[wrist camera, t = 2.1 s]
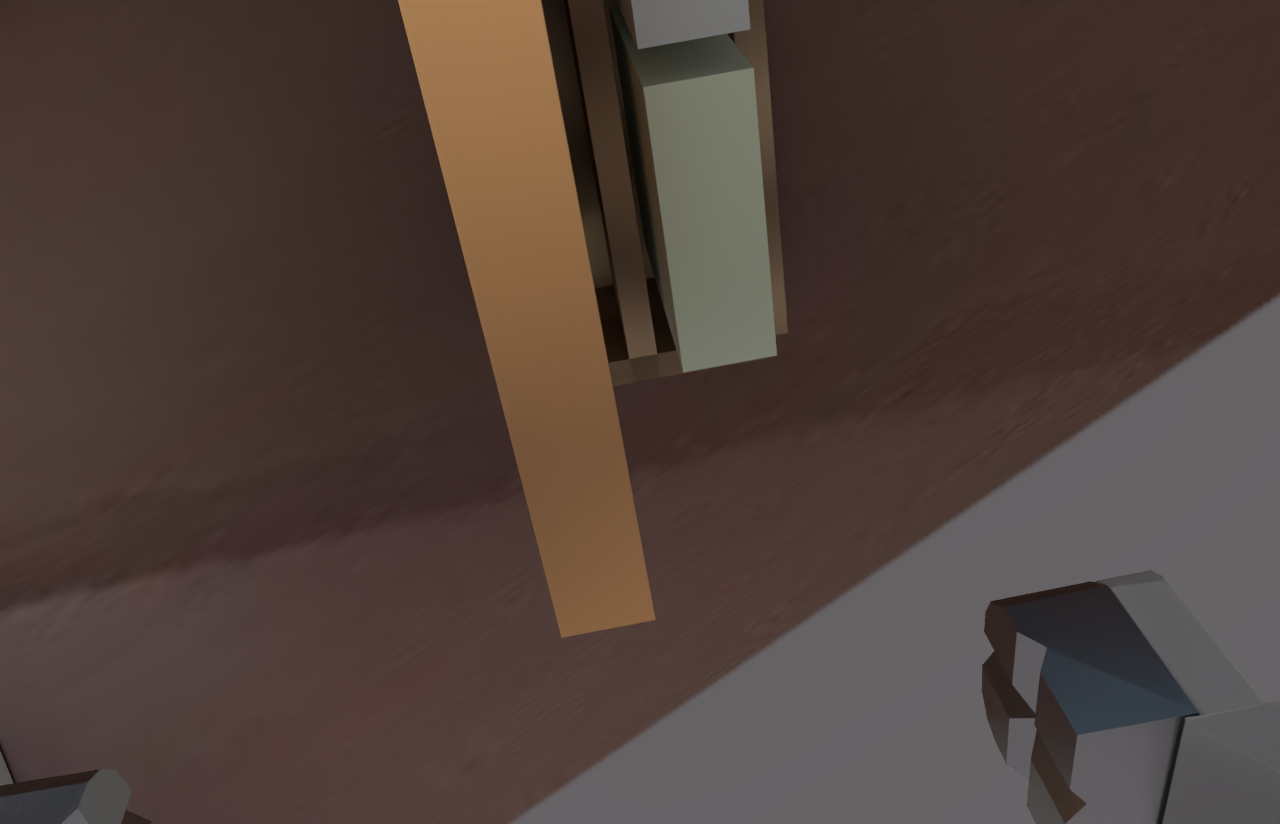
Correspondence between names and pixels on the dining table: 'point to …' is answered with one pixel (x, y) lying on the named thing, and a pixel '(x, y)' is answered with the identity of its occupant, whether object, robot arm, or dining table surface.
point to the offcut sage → (700, 193)
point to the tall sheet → (534, 294)
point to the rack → (610, 186)
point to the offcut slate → (682, 19)
